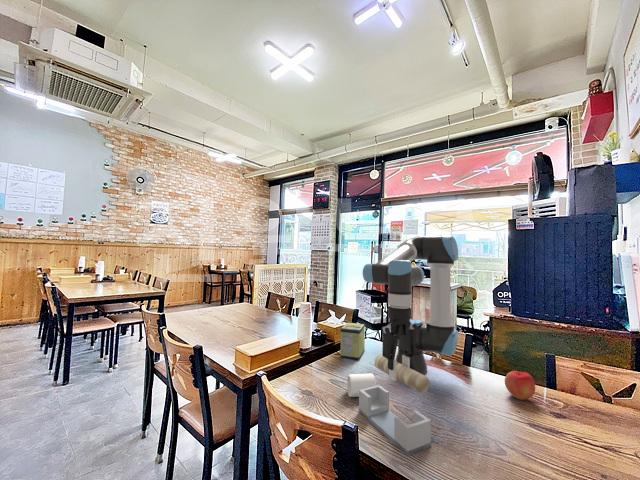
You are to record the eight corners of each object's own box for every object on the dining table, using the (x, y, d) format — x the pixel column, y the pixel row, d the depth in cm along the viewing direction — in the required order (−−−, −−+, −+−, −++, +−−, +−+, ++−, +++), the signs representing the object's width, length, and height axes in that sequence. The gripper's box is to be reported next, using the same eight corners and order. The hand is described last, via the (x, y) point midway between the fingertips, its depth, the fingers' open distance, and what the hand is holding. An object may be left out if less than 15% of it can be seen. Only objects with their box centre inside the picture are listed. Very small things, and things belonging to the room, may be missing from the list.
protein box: (364, 351, 161) (364, 323, 162) (359, 361, 146) (359, 330, 147) (346, 348, 165) (347, 321, 165) (340, 358, 150) (340, 328, 151)
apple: (531, 395, 113) (531, 369, 113) (538, 407, 104) (537, 379, 105) (503, 390, 117) (502, 365, 117) (507, 401, 108) (506, 374, 109)
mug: (376, 400, 108) (376, 378, 109) (351, 401, 107) (351, 379, 107) (367, 385, 120) (367, 366, 120) (344, 386, 119) (344, 367, 119)
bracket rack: (379, 405, 104) (379, 385, 104) (430, 446, 82) (430, 420, 83) (358, 411, 100) (359, 390, 100) (407, 456, 78) (407, 428, 79)
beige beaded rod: (377, 371, 101) (372, 359, 100) (387, 363, 103) (382, 351, 103) (420, 396, 83) (415, 382, 83) (431, 386, 85) (426, 372, 85)
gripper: (411, 302, 101) (411, 368, 100) (370, 306, 93) (370, 378, 92) (427, 306, 95) (428, 377, 94) (385, 310, 87) (385, 388, 85)
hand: (399, 377), depth 93 cm, fingers closed on beige beaded rod, 5 cm apart
